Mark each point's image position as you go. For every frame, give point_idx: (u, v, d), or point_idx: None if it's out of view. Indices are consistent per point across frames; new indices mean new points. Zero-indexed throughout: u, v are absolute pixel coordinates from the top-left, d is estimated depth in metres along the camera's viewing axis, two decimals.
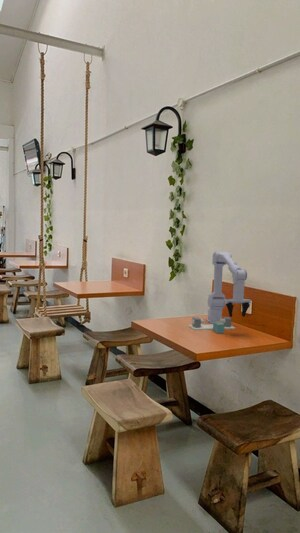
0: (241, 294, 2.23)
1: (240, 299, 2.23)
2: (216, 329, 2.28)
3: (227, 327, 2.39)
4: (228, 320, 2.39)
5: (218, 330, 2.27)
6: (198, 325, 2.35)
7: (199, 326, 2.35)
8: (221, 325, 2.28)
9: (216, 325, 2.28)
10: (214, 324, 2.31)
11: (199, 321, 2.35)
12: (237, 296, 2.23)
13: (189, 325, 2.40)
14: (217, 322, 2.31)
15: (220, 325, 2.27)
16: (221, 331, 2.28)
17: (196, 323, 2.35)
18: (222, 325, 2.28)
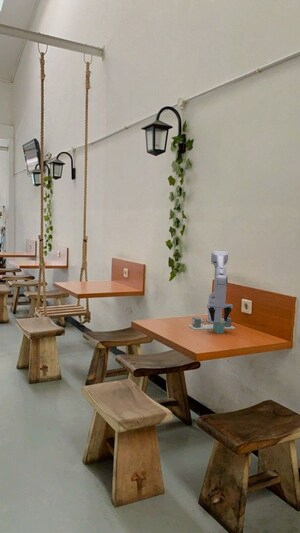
0: (223, 299, 2.26)
1: (222, 304, 2.26)
2: (216, 329, 2.28)
3: (227, 327, 2.39)
4: (228, 320, 2.39)
5: (218, 330, 2.27)
6: (198, 325, 2.35)
7: (199, 326, 2.35)
8: (221, 325, 2.28)
9: (216, 325, 2.28)
10: (214, 324, 2.31)
11: (199, 321, 2.35)
12: (219, 301, 2.26)
13: (189, 325, 2.40)
14: (217, 322, 2.31)
15: (220, 325, 2.27)
16: (221, 331, 2.28)
17: (196, 323, 2.35)
18: (222, 325, 2.28)
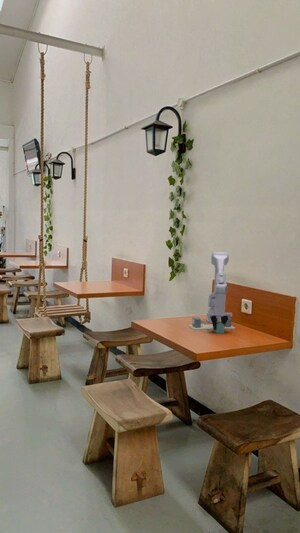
0: (222, 308, 2.27)
1: (221, 313, 2.27)
2: (216, 329, 2.28)
3: (227, 327, 2.39)
4: (228, 320, 2.39)
5: (218, 329, 2.27)
6: (198, 325, 2.35)
7: (199, 326, 2.35)
8: (221, 325, 2.28)
9: (216, 325, 2.28)
10: None
11: (199, 321, 2.35)
12: (218, 310, 2.27)
13: (189, 325, 2.40)
14: (217, 322, 2.31)
15: (220, 325, 2.27)
16: (221, 331, 2.28)
17: (196, 323, 2.35)
18: (222, 325, 2.28)
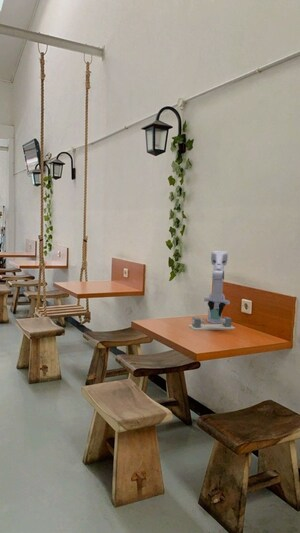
0: (216, 294, 2.30)
1: (215, 298, 2.31)
2: None
3: (227, 327, 2.39)
4: (228, 320, 2.39)
5: (211, 315, 2.32)
6: (198, 325, 2.35)
7: (199, 326, 2.35)
8: (214, 311, 2.31)
9: None
10: None
11: (199, 321, 2.35)
12: (212, 295, 2.32)
13: (189, 325, 2.40)
14: (216, 308, 2.35)
15: (213, 311, 2.31)
16: (214, 317, 2.31)
17: (196, 323, 2.35)
18: (215, 311, 2.31)
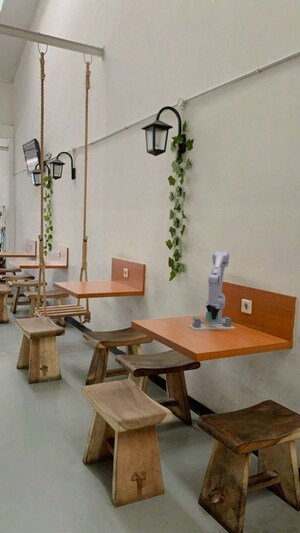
0: (209, 297, 2.37)
1: (208, 301, 2.38)
2: None
3: (227, 327, 2.39)
4: (228, 320, 2.39)
5: None
6: (198, 325, 2.35)
7: (199, 326, 2.35)
8: (207, 313, 2.38)
9: None
10: None
11: (199, 321, 2.35)
12: None
13: (189, 325, 2.40)
14: None
15: (207, 313, 2.39)
16: (207, 319, 2.38)
17: (196, 323, 2.35)
18: (207, 314, 2.37)
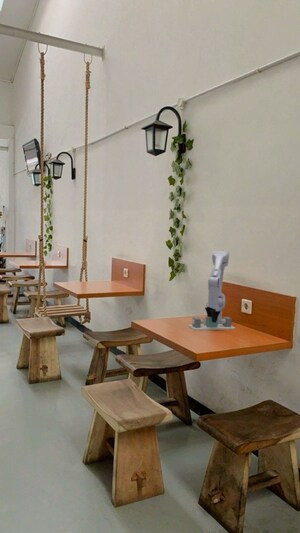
0: (209, 299, 2.37)
1: (208, 304, 2.38)
2: None
3: (227, 327, 2.39)
4: (228, 320, 2.39)
5: (205, 322, 2.40)
6: (198, 325, 2.35)
7: (199, 326, 2.35)
8: (207, 318, 2.38)
9: None
10: None
11: (199, 321, 2.35)
12: None
13: (189, 325, 2.40)
14: None
15: (206, 318, 2.39)
16: (207, 324, 2.38)
17: (196, 323, 2.35)
18: (207, 319, 2.38)
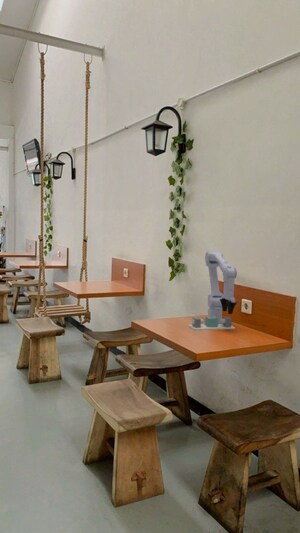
0: (224, 291, 2.36)
1: (223, 295, 2.36)
2: None
3: (227, 327, 2.39)
4: (228, 320, 2.39)
5: (205, 322, 2.40)
6: (198, 325, 2.35)
7: (199, 326, 2.35)
8: (207, 318, 2.38)
9: None
10: None
11: (199, 321, 2.35)
12: (223, 292, 2.38)
13: (189, 325, 2.40)
14: (213, 317, 2.40)
15: (206, 318, 2.39)
16: (207, 324, 2.38)
17: (196, 323, 2.35)
18: (207, 319, 2.38)
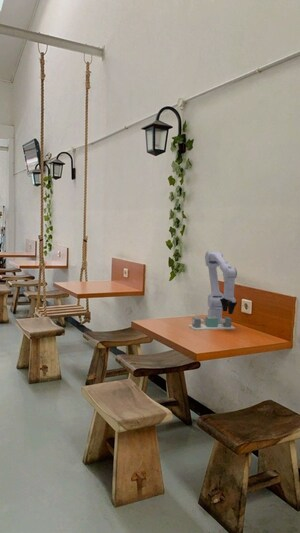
0: (224, 291, 2.36)
1: (224, 295, 2.36)
2: None
3: (227, 327, 2.39)
4: (228, 320, 2.39)
5: (205, 322, 2.40)
6: (198, 325, 2.35)
7: (199, 326, 2.35)
8: (207, 318, 2.38)
9: None
10: None
11: (199, 321, 2.35)
12: None
13: (189, 325, 2.40)
14: (213, 317, 2.40)
15: (206, 318, 2.39)
16: (207, 324, 2.38)
17: (196, 323, 2.35)
18: (207, 319, 2.38)
